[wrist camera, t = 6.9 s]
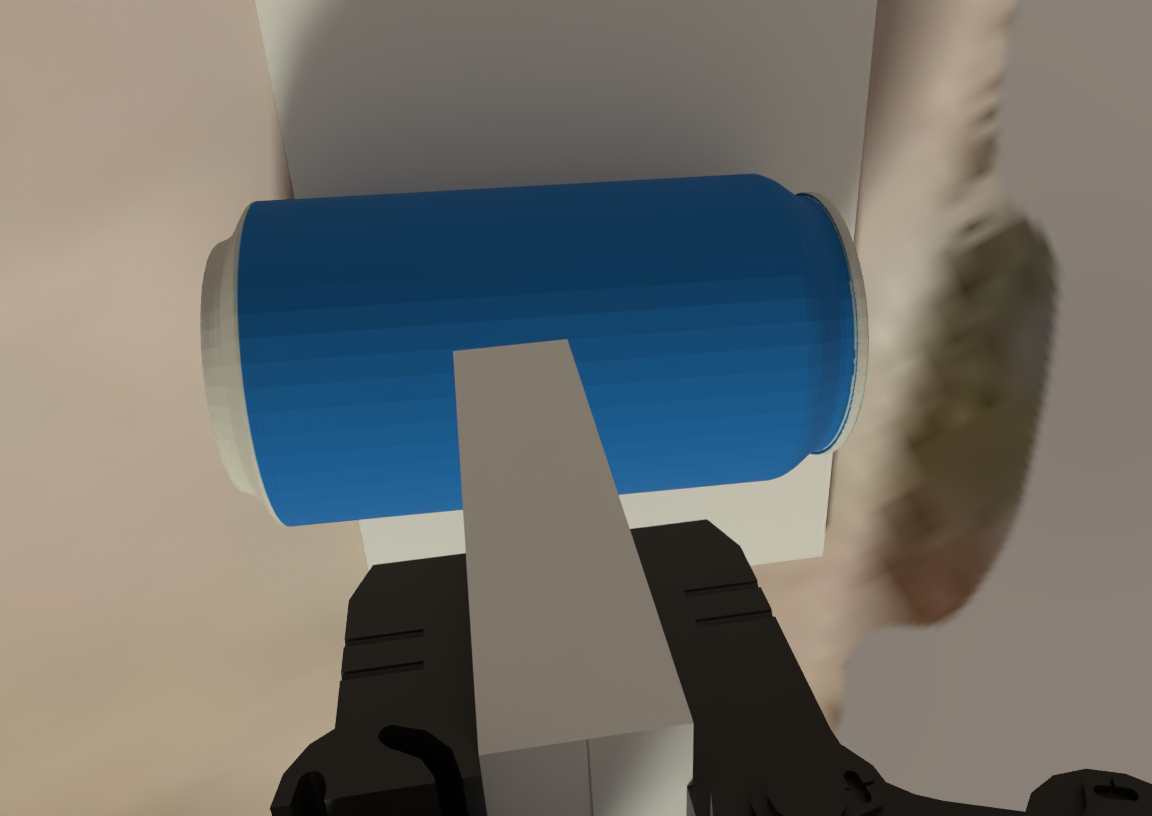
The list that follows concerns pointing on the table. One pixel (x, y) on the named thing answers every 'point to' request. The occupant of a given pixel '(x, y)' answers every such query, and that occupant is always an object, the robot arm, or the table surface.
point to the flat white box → (580, 148)
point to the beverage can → (529, 333)
